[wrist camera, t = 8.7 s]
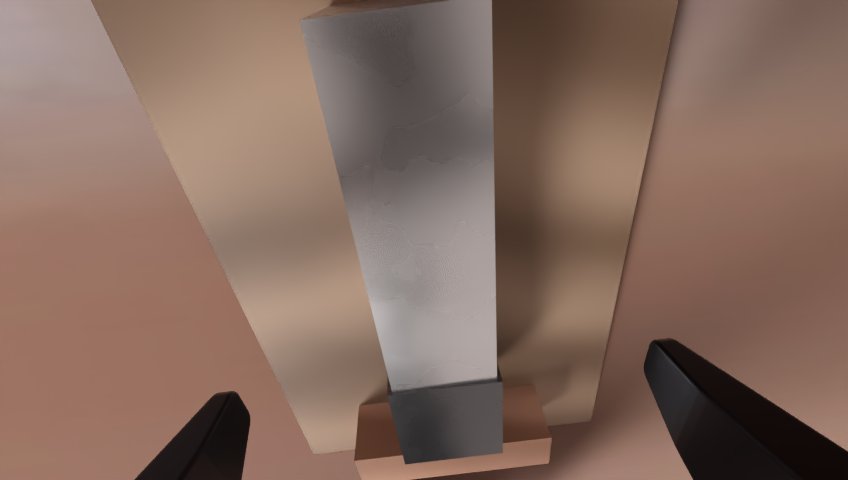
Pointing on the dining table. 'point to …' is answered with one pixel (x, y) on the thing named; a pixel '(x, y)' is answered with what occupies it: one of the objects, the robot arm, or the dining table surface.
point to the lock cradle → (329, 223)
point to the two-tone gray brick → (420, 205)
